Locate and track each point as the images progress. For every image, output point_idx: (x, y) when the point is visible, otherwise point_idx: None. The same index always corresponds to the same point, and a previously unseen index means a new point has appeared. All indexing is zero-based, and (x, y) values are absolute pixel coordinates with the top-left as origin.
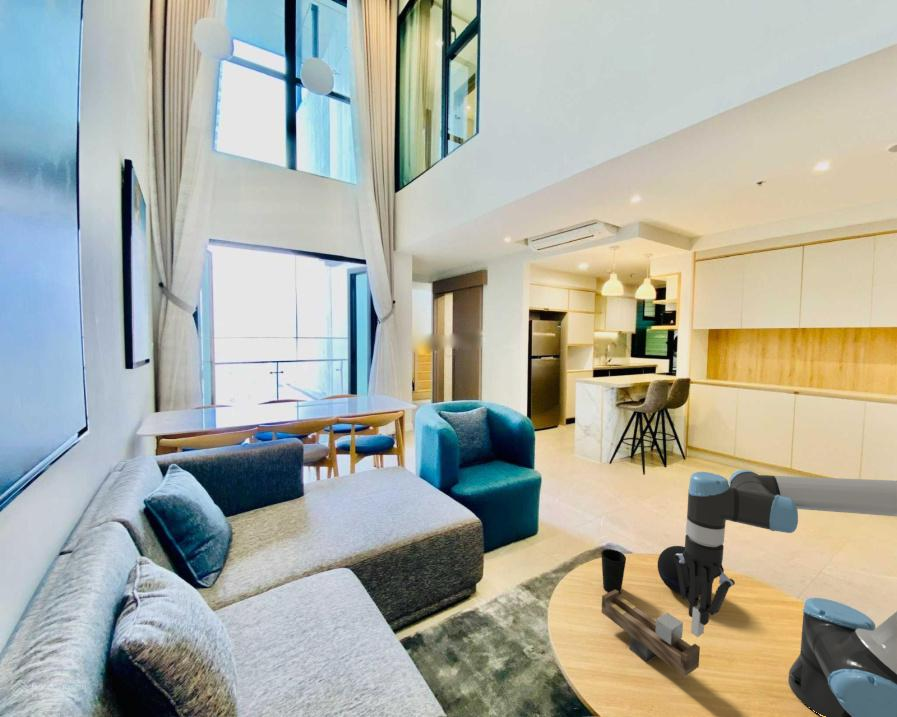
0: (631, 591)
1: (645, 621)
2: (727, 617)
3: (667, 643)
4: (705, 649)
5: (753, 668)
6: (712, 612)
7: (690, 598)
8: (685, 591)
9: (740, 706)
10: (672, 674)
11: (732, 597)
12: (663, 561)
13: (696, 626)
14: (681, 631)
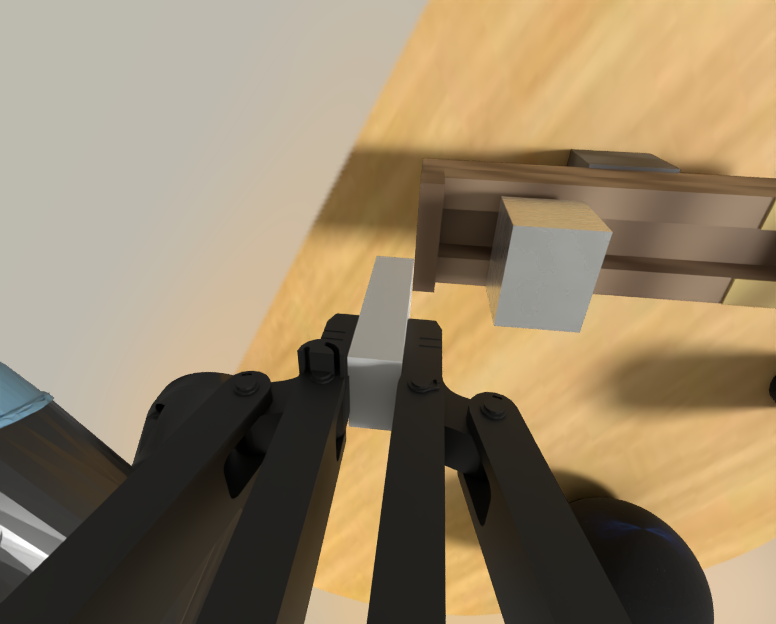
0: (732, 419)
1: (650, 265)
2: (465, 501)
3: None
4: (457, 366)
5: None
6: (232, 388)
7: (426, 412)
8: (484, 453)
9: (309, 249)
10: None
11: (483, 562)
12: (692, 592)
13: (379, 286)
14: (490, 294)
